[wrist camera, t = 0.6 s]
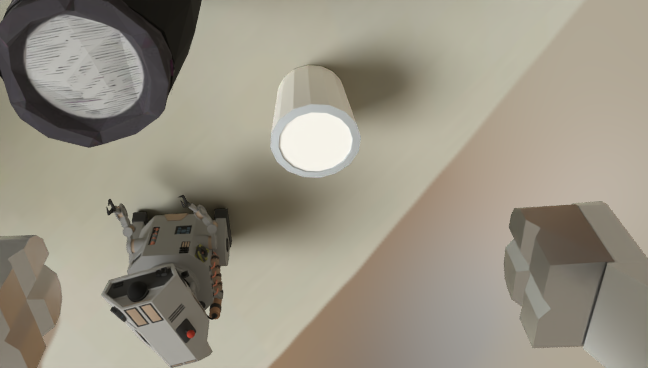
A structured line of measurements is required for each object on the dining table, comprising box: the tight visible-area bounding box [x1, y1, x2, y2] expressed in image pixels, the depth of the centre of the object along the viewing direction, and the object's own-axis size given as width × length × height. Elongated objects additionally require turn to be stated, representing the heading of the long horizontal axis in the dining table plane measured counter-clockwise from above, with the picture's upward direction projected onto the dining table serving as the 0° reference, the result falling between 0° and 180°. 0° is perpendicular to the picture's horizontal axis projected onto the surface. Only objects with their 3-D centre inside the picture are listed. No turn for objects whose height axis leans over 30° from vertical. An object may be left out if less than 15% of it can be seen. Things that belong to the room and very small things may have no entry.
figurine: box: [101, 195, 232, 368], centre depth 53 cm, size 9×12×15 cm
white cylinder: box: [270, 65, 361, 178], centre depth 49 cm, size 7×7×7 cm
